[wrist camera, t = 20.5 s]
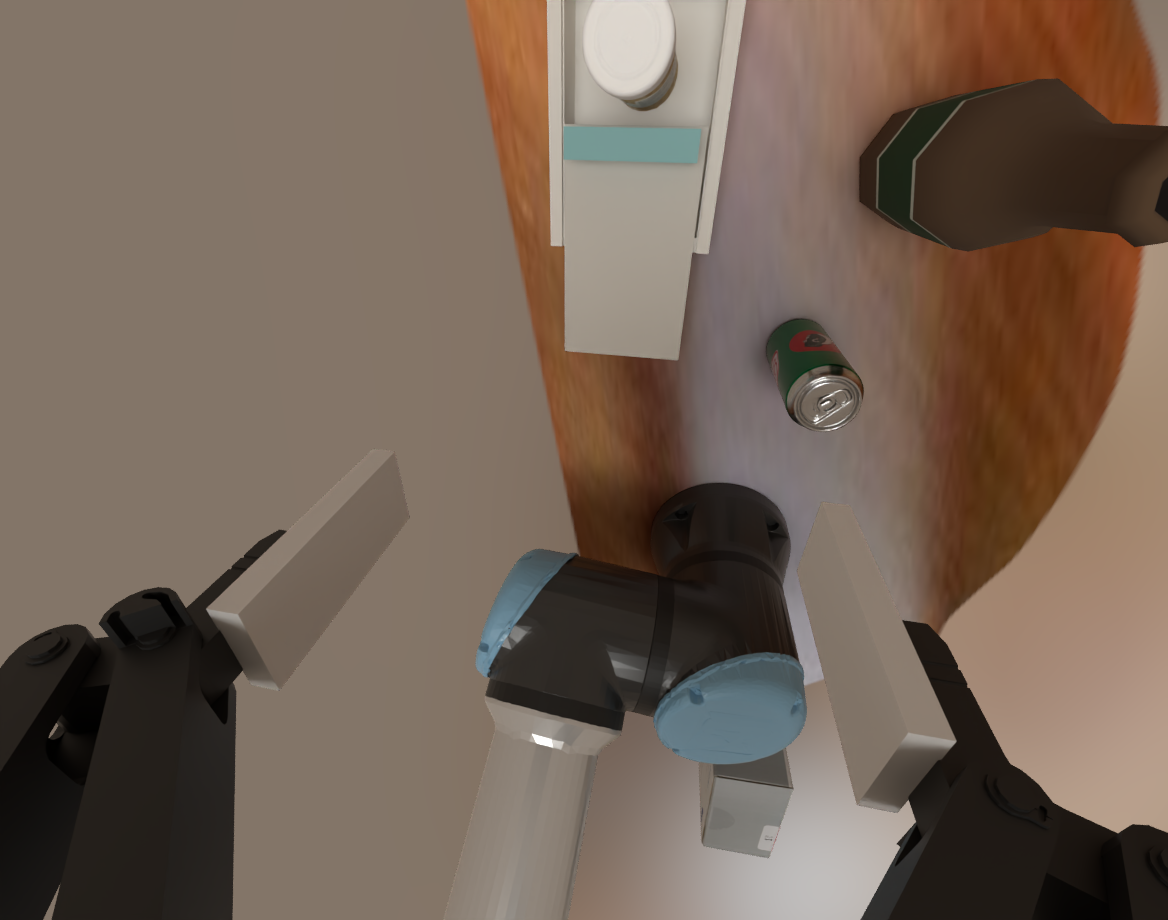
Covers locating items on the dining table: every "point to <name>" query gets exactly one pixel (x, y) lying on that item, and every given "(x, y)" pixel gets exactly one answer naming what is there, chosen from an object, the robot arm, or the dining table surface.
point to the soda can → (813, 376)
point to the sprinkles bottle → (632, 50)
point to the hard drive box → (744, 803)
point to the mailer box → (700, 98)
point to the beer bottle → (1016, 169)
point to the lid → (629, 235)
